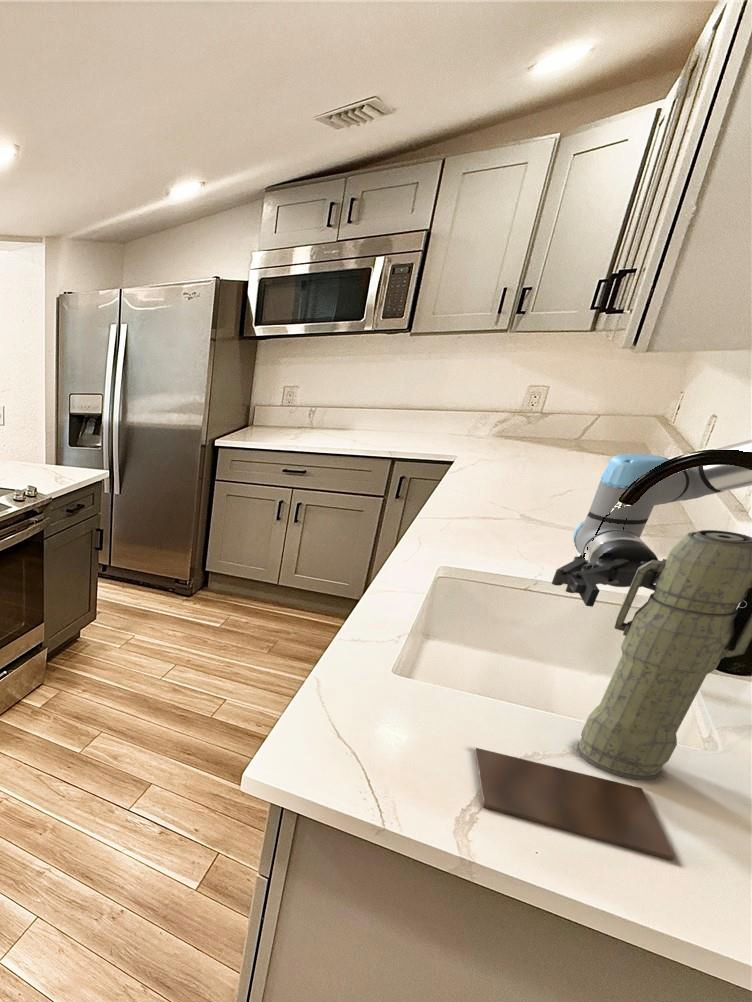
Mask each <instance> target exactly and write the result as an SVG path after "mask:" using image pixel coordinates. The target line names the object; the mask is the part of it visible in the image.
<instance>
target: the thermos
mask: <svg viewBox="0 0 752 1002" xmlns="http://www.w3.org/2000/svg"><path fill="white" fill-rule="evenodd" d="M651 568H653V569H658V570H657V571H658V572H661V573H660V575H659V577H658V579H657V582H656V583H655V584H654V585H655V587H656V589H655V591H654V590H653V592H652V593H651V594H649V597H648V599H647V601H646V602H645V603H644V604H643V605H642V606H641V607H640V608H638V610H636V611H635V613H634V615H633V618H632V620H630V621H628V622H625V620H626V618H627V616H628V614H629V611H630V609H631V607H632V604H633V603H634V601H635V598H636V595H637V593H638V591H639V589H640V587H639V586H640V584H641V582H642V579H643V577H644V575H645V573H646V572H647V571H648V570H650V569H651ZM751 588H752V537H751V536H749V535H746V534H743V533H737V532H733V531H726V530H717V529H715V530H714V529H701V530H698V531H692V532H689V533H687V534H686V535H685V536H683V538H682V539H680V540H679V542H678V543H676V544H675V545H674V546H673V548H671V550H670V551H669V553H668V554H667V557H666V558H662V560H659V559H658V560H651V561H649V562H648V563H646V564H644V565H642V566H640V567H639V568H638V570H637V572H636V575H635V577H634V579H633V581H632V584H631V586H630V587H628V591H627V593H626V595H625V598H624V600H623V603H622V605H621V607H620V609H619V612H618V615H617V617H616V620H615V625H614V629H615V630H618V631H622V632H623V633H622V635H623V636H624V638H623V640H622V642H621V644H620V645H621V646H620V649H621V656H620V659H619V660H618V663H617V665H616V667H615V670H614V672H613V674H612V676H611V679H610V681H609V683H608V685H607V688H606V689H605V692H604V694H603V696H602V698H601V701H600V702H599V704H598V705H597V706H596V707H595V708H594V709H593V710H592V711H591V713H590V714H589V715H588V716H587V718H586V721H585V723H584V726H583V728H582V731H581V733H580V734H581V735H580V736H581V738H580V740H579V742H578V743H577V744H576V752H577V754H578V756H580V758H582V759H583V760H584V761H585V762H587V763H589V764H591V765H592V766H594V767H595V768H597V769H600V770H602V771H604V772H607V773H609V774H613V775H615V776H619V777H622V778H625V779H626V778H627V779H631V780H642V781H647V780H654V779H656V778H657V777H659V776H660V774H661V773H662V771H661V770H662V769H663V766H664V765H665V764H667V763H668V762H669V760H670V759H671V757H672V755H673V753H674V751H675V749H676V748H677V745H678V737H677V733H678V731H679V729H680V727H681V725H682V723H683V721H684V719H685V717H686V715H687V714H688V711H689V710H690V707H691V706H692V704H693V702H694V700H695V698H696V696H697V695H698V692H699V691H700V689H701V686H702V685H703V683H704V680H705V679H706V677H707V675H709V674H710V673H711V672H713V671H715V670H717V668H718V666H719V664H720V662H721V660H722V659H724V658H733V657H736V656H742V655H745V653H746V651H747V649H748V646H749V645H750V642H751V641H752V613H751V615H750V616H749V618H748V620H747V622H746V624H745V625H744V628H743V629H742V631H741V633H740V634H739V637H738V638H737V640H736V642H735V644H734V646H731V641H732V639H733V637H734V635H735V625H734V624H735V623H734V622H735V618H736V616H737V615H738V607H739V605H740V604H741V603H743V602H744V601H745V599H746V597H747V595H748V592H749V591H750V589H751Z"/></svg>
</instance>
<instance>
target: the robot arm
mask: <svg viewBox="0 0 752 1002" xmlns="http://www.w3.org/2000/svg"><path fill="white" fill-rule="evenodd" d="M713 450H739V451H743V452H752V439H749V440H744V441H739V442H736V443H732V444H729V445H726V446H722V447H717V448H714V449H713ZM668 460H670V459H669V458H668V457H665V456H661V455H656V454H650V453H649V454H648V453H621V454H617V455H614V456H612V457H611V458H610V459H609V461H608V463H607V465H606V468H605V470H604V471H603V472H602V474H601V476H600V481H599V484H598V486H597V489H596V492H595V494H594V497H593V500H592V502H591V505H590V508H589V510H588V513H587V514H586V516H585V520H584V521H582V522H581V523H579V524H578V525H577V526H576V528H575V529H574V531H573V535H572V537H573V543H574V547H575V549H576V550H577V552H578V553H579V554H580V555H581V556H578V555H577V556H574V558H573V559H572V561H569V563H566V564H564V565H562V566H561V567H558V568H557V569H556V570H555V573H554V576H553V578H552V581H551V584H552V585H553V586H562V585H566V588H565V592H566V593H569V594H578V595H579V596H580V599H581V600H582V601H583V603H584V605H585V606H586V607H590V608H593V607H594V605H595V603H596V600H597V598H598V596H599V593H600V588H599V587H598V586H597V585H602V586H610V587H615V588H630V586H631V584H632V581H633V579H634V577H635V575H636V572H637V570H638V568H639V567H640V566H642V565H644V564H646V563H648V562H649V561H651V560H659V558H658V556H657V555H656V554H655V553H654V551H653V550H652V549H651V548H650V546H648V545H647V544H646V543H645V541H643V540H642V539H641V536H642V534H643V532H644V529H645V527H646V525H647V523H648V521H649V518H650V516H651V514H652V512H653V509H654V506H660V505H665V504H669V503H675V502H681V501H682V502H684V501H689V500H694V499H698V498H702V497H705V496H710V495H714V494H719V493H723V492H727V491H733V490H736V489H741V488H746V487H752V470H749V469H746V468H743V467H738V466H733V465H707V466H699V467H694V468H690V469H688V470H684V471H681V472H679V473H676V474H674V475H672V476H670V477H667V478H665V479H663V480H661V481H659V482H658V483H656V484H655V485H653V486H652V487H650V488H649V489H648V490H647V491H646V492H645V493H644V494H643V495H642V496H641V497H640V499H639V500H638V501H637V502H636V503H634V504H633V505H631V506H625V507H624V506H622V507H621V508H619V509H617V508H618V507H616V508H615V509H614V510H613V511H612V512H611V513H610V515H609V516H607V517H606V519H605V520H604V521H605V522H603V524H602V525H601V527H600V530H599V531H598V533H597V535H595V534H596V532H597V530H598V528H599V526H600V524H601V522H602V520H603V518H604V517H605V516H606V515H607V514H608V513H609V512H610V511H611V510H612V508H613V507H614V506H615V505H616V504H617V503H618V501H619V498H620V497H621V495H622V494H623V493H624V492H625V491H626V489H628V487H629V486H630V485H631V484H632V483H633V482H634V481H636V480H637V479H638V478H640V477H641V476H642V475H644V474H646V473H647V472H649V471H650V470H652V469H654V468H655V467H657V466H659V465H661V464H662V463H664V462H666V461H668ZM626 517H627V521H626ZM606 520H607V521H606ZM609 522H611V523H609ZM617 523H619V524H617ZM624 523H625V525H624ZM623 527H624V530H623ZM593 538H594V540H593ZM592 540H593V541H592ZM587 547H588V550H587ZM584 553H586V554H585V557H584V558H585V559H584V558H583V555H584ZM657 570H658V569H653V568H651V569H650V570H648V571H647V572H646V573H645V575H644V577H643V579H642V582H641V584H640V586H639V588H645V589H647V590H651V591H653V592H654V591H655V589H656V587H655V584H656V582H657V579H658V577H659V575H660V573H661V572H658V571H657Z"/></svg>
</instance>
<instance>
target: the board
mask: <svg viewBox="0 0 752 1002" xmlns="http://www.w3.org/2000/svg"><path fill="white" fill-rule="evenodd" d="M474 756H475V763H476V769H477V775H478V776H477V777H478V782H479V789H480V795H481V803H482V807H483V808H486V809H489V810H493V811H496V812H500V813H503V814H506V815H510V816H513V817H518V818H521V819H523V820H524V819H525V820H527V821H532V822H535V823H539V824H541V825H542V824H543V825H546V826H549V827H552V828H557V829H559V830H564V831H567V832H571V833H574V834H578V835H581V836H585V837H587V838H592V839H595V840H598V841H603V842H605V843H606V842H607V843H609V844H612V845H616V846H620V847H624V848H627V849H631V850H635V851H638V852H642V853H645V854H649V855H652V856H656V857H659V858H663V859H666V860H669V861H673V860H674V859H675V855H674V853H673V851H672V849H671V846H670V844H669V842H668V841H667V837H666V836H665V834H664V831H663V830H662V828H661V826H660V823H659V821H658V819H657V817H656V815H655V813H654V810H653V808H652V806H651V805H650V802H649V800H648V799H647V797H646V796H647V795H646V794H645V792H644V790H643V788H642V787H639V786H635V785H631V784H628V783H627V784H626V783H623V782H618V781H615V780H610V779H605V778H601V777H598V776H594V775H589V774H586V773H582V772H577V771H573V770H569V769H564V768H561V767H556V766H553V765H549V764H544V763H541V762H536V761H533V760H528V759H524V758H520V757H517V756H511V755H508V754H503V753H498V752H495V751H491V750H487V749H483V748H479V747H475V748H474Z"/></svg>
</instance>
